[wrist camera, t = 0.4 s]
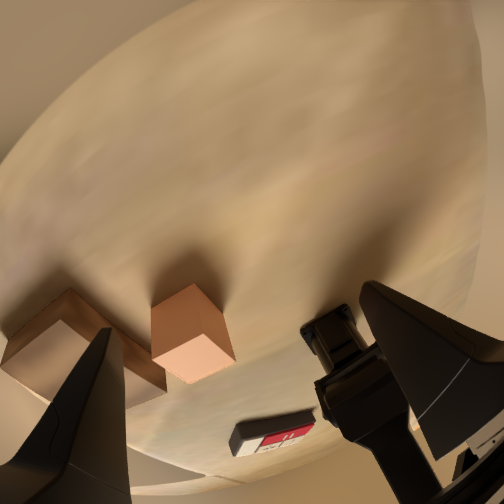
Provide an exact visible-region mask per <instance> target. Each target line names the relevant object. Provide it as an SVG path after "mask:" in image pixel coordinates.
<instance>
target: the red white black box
mask: <svg viewBox="0 0 504 504" xmlns="http://www.w3.org/2000/svg"><path fill="white" fill-rule="evenodd" d="M315 422H316V420H315V418H314V416H313V414H312V412H311V410H309V411H305V412H300V413H296V414H291V415H286V416H282V417H277V418H273V419H269V420H264V421H252V422H245V423H238V424H236V426H235V428H234V431H233V433H232V435H231V438H230V440H229V446H230V449H231V452H232V455H233V456H236V457H240V456H244V455H249V454H253V453H254V452H255V453H256V454H257V453H262V452H266V451H270V450H274V449H276V448H277V447H279V448H281V447H285V446H288V445H292V444H295V443H298V442H299V441H300V440H301V439H302V438H303V437H304V436H305V434H306V433H307V432H308V431H309V430H310V429H311V428H312V427H313V426H314V423H315Z"/></svg>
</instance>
